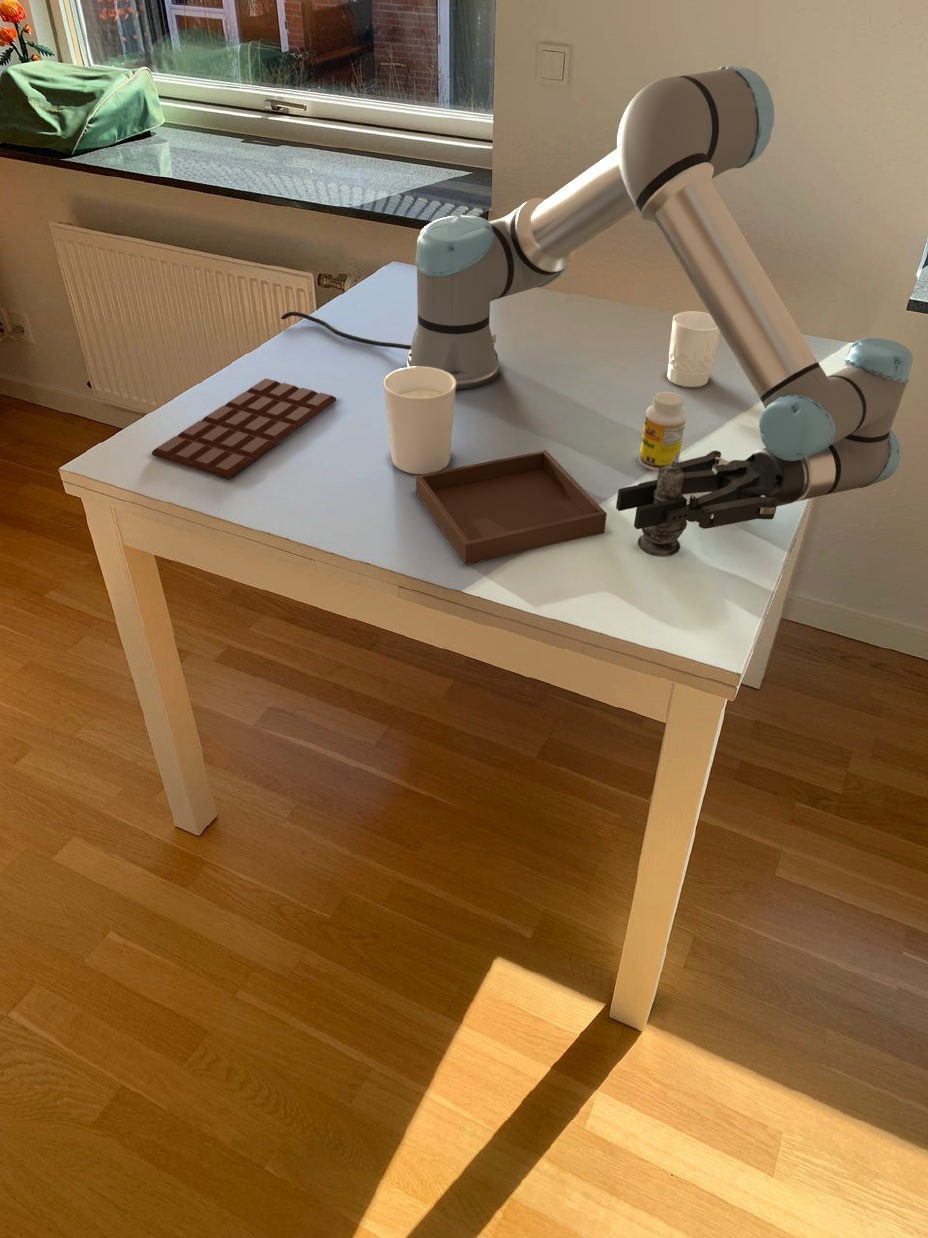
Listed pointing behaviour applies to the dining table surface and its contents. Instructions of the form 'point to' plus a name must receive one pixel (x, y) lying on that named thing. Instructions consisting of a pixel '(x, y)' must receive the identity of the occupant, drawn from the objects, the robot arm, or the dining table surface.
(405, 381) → the candle holder
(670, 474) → the salt shaker
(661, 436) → the supplement bottle
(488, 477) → the tray
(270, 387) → the chocolate bar
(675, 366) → the white cup
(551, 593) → the dining table surface
